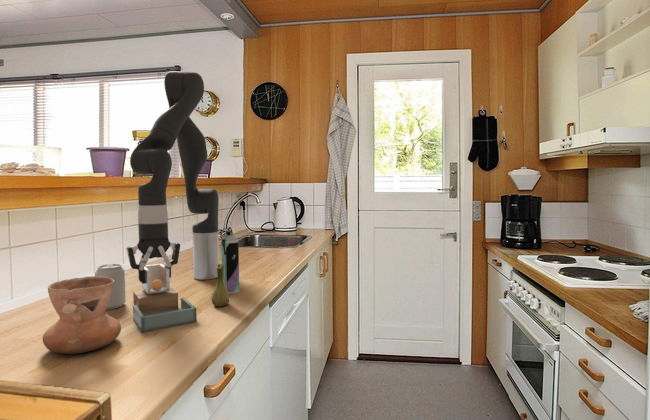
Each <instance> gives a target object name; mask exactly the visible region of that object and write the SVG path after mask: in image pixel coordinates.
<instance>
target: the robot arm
mask: <svg viewBox="0 0 650 420" xmlns="http://www.w3.org/2000/svg"><path fill="white" fill-rule="evenodd" d="M163 82H164V84H163V85H164V92H165V96H166V98H167V103H168V106H169V108H168V109H166V110H164V111H163V112H162V113H161V114H160V115H159V116H158V117H157V118H156V120H155V121H154V124H153V125H152V127H151V129H150V131H149V134H148V135H146V137H145V138H144V139H142V141H141V142H140V143H139V144H138V145H137V146H136V147H135V148H134V150H133V151H132V153H131V155H130V160H129V164H130V168H131V170H132V171H133V172H134V173H136V174H138V175H152V177H151V179H150V181H149V182H146V183H141V184H139V186H138V191H137V195H138V211H137V222H138V227H137V228H138V243H137V245H133V246H127V247H126V253H127V256H128V261H129V264H130V265H129V266H130V268H132V269H133V270H138V281H139V282H140V283H141V285H142V284H145V270H144V267H145V266H146V265H147V263H148V261H149V260H150V259H154V258H156V259H158V258H161V260H162V263H164V264H163V265H164V266H166V267H167V268H168V269H169V279H171V277H172V267H173V266H174V265H177V264H178V262H179V256H180V250H181V243H179V242H171V241H170V240H169V216H168V208H167V186H168V185H169V184H168V183H169V178H170V175H171V172H172V171H171V170H172V167H173V166H172V165H173V160H172V159H173V158H172V157H171V155H170V153H169V151H170V150H172V148H173V147H174V145H175V143H176V142H177V143H176V144H177V148H178V153H179V158H180V163H181V167H182V168H181V169H182V171H183V177H184V187H185V196H186V204H187V209H188V210H189V213H191V214H197V215H198V214H199V215H201V214H202V215H203V214H207V217H206V218H205V219H204V220H202V221H200V222H196V223H194V224H193V225H192V227H191V228H192V229H191V230H192V231H191V232H192V259H193V260H192V261H193V263H192V266H193V279H195V280H200V281H201V280H204V281H206V280H212V279H216V278H217V279H218V275H217V267H218V264H220V260H219V259H220V258H219V256H220V255H219V251H220V249H219V205H220V204H219V201H220V200H219V193H218V191H217V189H213V188H197V180H198V178H199V175H200V173H201V171H202V170H203V168H204V166H205V164H206V163H207V160H208V148H207V141H206V139H205V136H204V134H203V133H202V131H201V130H200V128H199V127H198V126H197V124H196V123H195V122H194V121H193V120H192V119H191V117H190V116H191V114H192V113H193V112H194V110H195V109H196V108H197V106H198V104H200V102H201V100H202V98H203V96H204V92H205V84H204V80H203V77H202V76H201V75H200V73H198V72H193V71H179V70H178V71H175V70H171V71H168V72H167V73H166V74H165V76H164V81H163ZM169 248H170V250H172V255H171V260H170V259H169V256H168V254H167V253H166V252H167V251H168V249H169ZM137 250H139V252H140V253H141V257H140V259H139V262H138V263H137V262H136V261H137V260H136V258H135V254H137Z"/></svg>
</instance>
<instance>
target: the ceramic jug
mask: <svg viewBox="0 0 650 420" xmlns="http://www.w3.org/2000/svg"><path fill="white" fill-rule="evenodd" d="M114 282H115V281H114V280H113V279H111V278H107V277H96V276H95V275H94V276H92V275H91V276H84V277H83V276H81V277H73V278H70V279H69V278H68V279H67V278H66V279H63V280H59V281H56V282H53V283H50V284H49V285H48V286H47V293H48V297H49V299H50V302H51V304H52V306H53V308H54V310H55V312H56V314H57V315H58V317H59V319H58V320H57V321H56V322H55V323H53V324H52V325H50V326H49V327H48V328H47V329H46V330H45V332H44V333H43V336H42V343H43V345H44V346H45V348H46V349H47V350H48V351H51V352H52V353H55V354H62V355H76V354H83V353H88V352H92V351H96V350H99V349H101V348H103V347H105V346H108V345H110V344H111V343H112V342H114V341H115V340H117V338H118V337H119V335H120V333H121V331H122V325H121V323H120V321H119V320H118V319H116V318H114V317H112V316H110V315H109V314H107V313H106V308H107V306H108V303H109V301H110V298H111V295H112V292H113V288H114Z"/></svg>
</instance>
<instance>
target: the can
mask: <svg viewBox="0 0 650 420" xmlns="http://www.w3.org/2000/svg"><path fill="white" fill-rule="evenodd" d="M122 266H123V265H122V264H121V263H110V264H109V263H108V264H102V265H98V266H96V268H97V270H96V271H95V272H94V276H96V277H107V278H111V279H113V280H114V281H115V282H114V288H113V292H112V295H111V298H110V301H109V303H108V306H107V308H106V310H108V311H109V310H114V309H118V308H120V307H121V308H122V307H123V306H124V304H125V303H126V301H127V300H126V281H125V280H126V275H125V268H123V267H122ZM106 310H105V311H106Z"/></svg>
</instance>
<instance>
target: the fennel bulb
mask: <svg viewBox="0 0 650 420" xmlns="http://www.w3.org/2000/svg"><path fill="white" fill-rule="evenodd" d="M223 271H224V267H223V264H222V263H219V264H218V267H217V275H218V277H217V282H216V284H215V287H214V290H213V292H212V294H211V302H212V304H213V306H214V307H224V306H228V304H229V303H230V294H229V293H228V290H227V288H226V285H225V283H224V279H223Z"/></svg>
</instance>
